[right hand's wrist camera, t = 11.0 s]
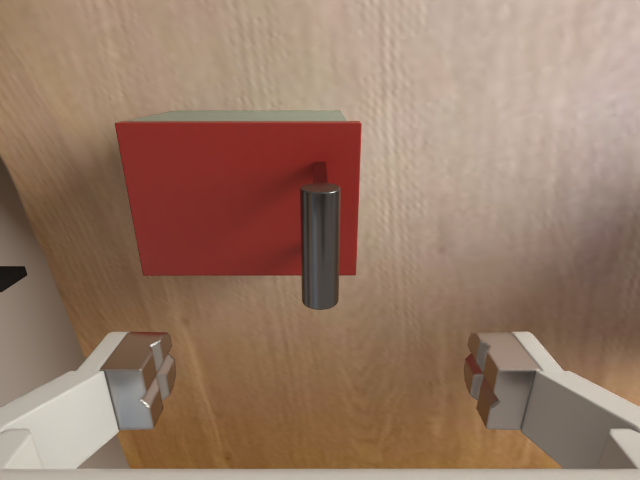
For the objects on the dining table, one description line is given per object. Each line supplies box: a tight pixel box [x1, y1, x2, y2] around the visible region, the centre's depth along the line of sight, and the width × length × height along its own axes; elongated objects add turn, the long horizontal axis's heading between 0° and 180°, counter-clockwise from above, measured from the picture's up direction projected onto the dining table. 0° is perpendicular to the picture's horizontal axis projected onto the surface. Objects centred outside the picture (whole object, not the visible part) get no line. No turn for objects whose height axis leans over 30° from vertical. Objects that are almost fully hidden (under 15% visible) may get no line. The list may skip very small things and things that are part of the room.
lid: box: [115, 121, 362, 310], centre depth 21 cm, size 14×10×8 cm
